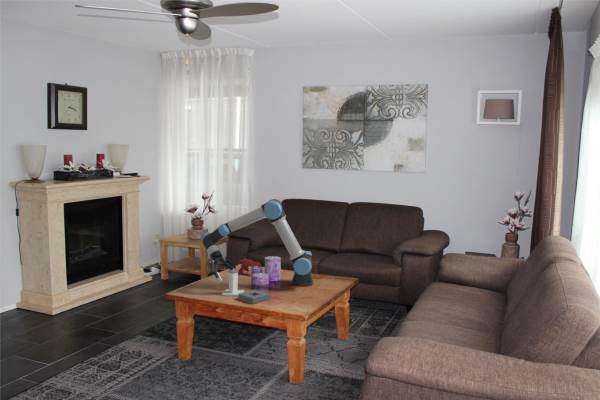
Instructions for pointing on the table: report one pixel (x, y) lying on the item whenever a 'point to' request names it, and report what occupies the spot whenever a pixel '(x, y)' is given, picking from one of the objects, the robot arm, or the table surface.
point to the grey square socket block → (254, 296)
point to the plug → (233, 281)
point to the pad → (227, 293)
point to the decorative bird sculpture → (247, 265)
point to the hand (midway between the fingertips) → (229, 279)
